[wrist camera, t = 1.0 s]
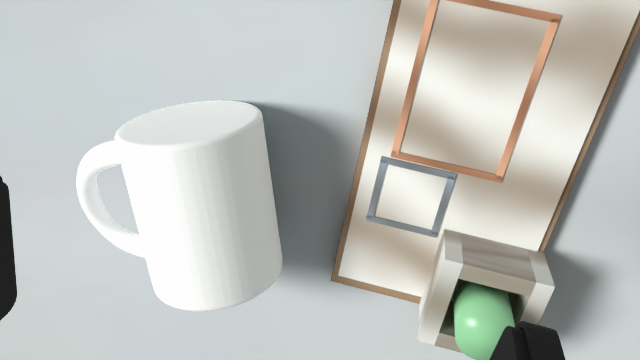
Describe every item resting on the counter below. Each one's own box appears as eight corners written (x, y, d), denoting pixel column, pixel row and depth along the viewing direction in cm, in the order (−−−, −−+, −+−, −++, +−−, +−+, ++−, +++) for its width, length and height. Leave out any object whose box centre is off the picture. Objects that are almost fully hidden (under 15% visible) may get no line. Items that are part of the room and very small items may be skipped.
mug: (277, 96, 33) (234, 144, 26) (296, 240, 37) (262, 316, 30) (98, 103, 35) (13, 149, 28) (133, 237, 39) (67, 307, 32)
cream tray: (412, -79, 27) (408, -79, 24) (658, -31, 26) (697, -23, 22) (332, 273, 37) (320, 315, 33) (509, 319, 36) (518, 367, 32)
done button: (462, 272, 32) (464, 307, 29) (517, 286, 32) (525, 323, 29) (446, 315, 33) (448, 351, 30) (499, 329, 33) (505, 367, 30)
